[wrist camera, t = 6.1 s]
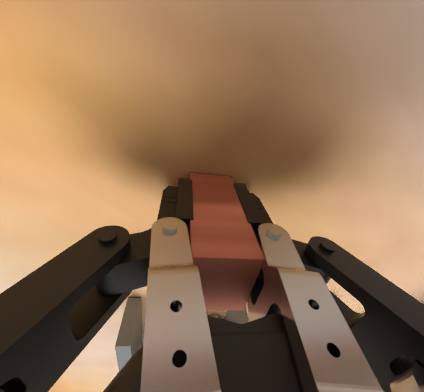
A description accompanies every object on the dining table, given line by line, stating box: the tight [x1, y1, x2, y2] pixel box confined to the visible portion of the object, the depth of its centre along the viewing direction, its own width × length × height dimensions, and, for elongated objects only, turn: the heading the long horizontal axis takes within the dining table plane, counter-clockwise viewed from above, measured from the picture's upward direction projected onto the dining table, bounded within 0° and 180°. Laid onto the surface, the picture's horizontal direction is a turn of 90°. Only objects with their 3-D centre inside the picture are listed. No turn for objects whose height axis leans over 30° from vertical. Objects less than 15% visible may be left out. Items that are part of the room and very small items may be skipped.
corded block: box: [189, 172, 264, 318], centre depth 14 cm, size 21×6×6 cm, turn 171°
